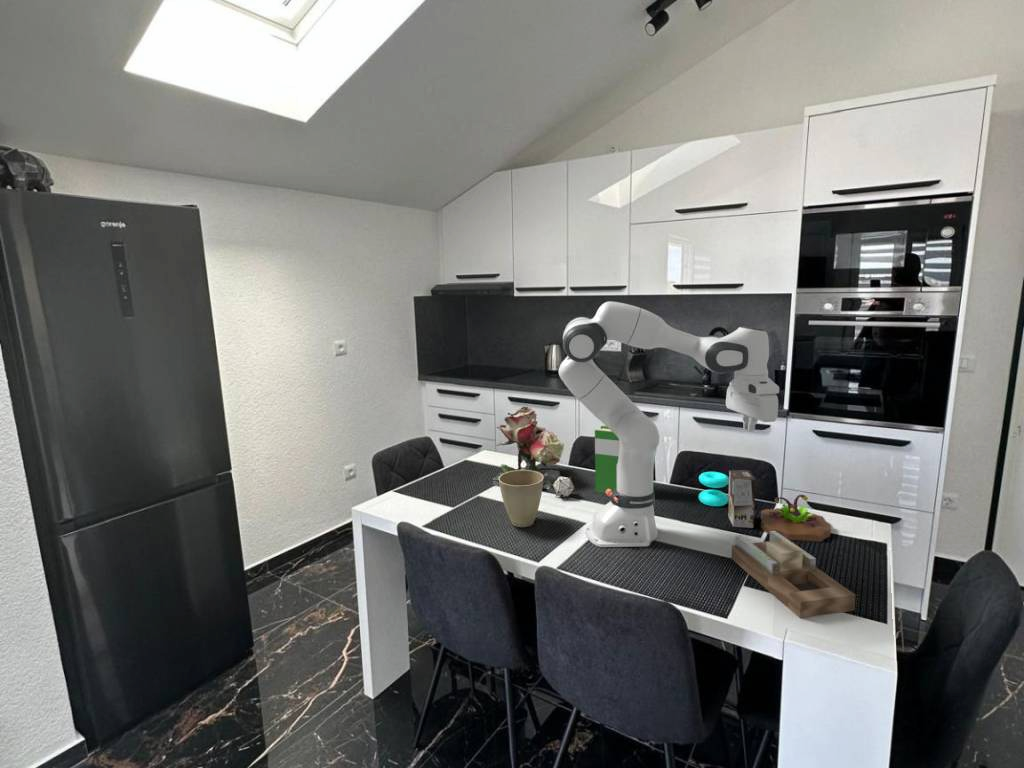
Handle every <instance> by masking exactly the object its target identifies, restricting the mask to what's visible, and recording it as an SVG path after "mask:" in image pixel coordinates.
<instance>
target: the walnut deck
mask: <svg viewBox="0 0 1024 768" xmlns="http://www.w3.org/2000/svg"><path fill="white" fill-rule="evenodd" d="M767 542H770V540H768V541H767V540H766V541H760V542H751V543H752V544H753V545H755V546H756V547H757V548H759V549H760V550H761V551H763V552H764V553H765V554H766V544H767ZM730 559H731V560H732V561H733V562H735V564H737V565H738V566H739V567H740V568H741V569H743V570H744V571H745V572H746V573H747V574H748V575H750V576H751V578H753V579H754V580H755V581H756V582H758V584H760V585H761V586H762V587H763V588H765V590H766V591H768V592H769V593H770V594H771V595H773V596H774V597H775V598H776V599H777V600H778V601H779V602H780V603H782V604H783V605H784V606H785V607H787V609H788V610H790V611H791V612H792V613H793V614H794V615H795V616H796V617H798V618H799V619H804V618H812V617H817V616H826V615H832V614H838V613H839V614H840V613H846V612H847V613H848V612H852V611H853V612H854V611H855V607H856V593H854V592H852V591H851V590H849V589H848V588H846V587H845V586H844V585H842V584H841V583H839V582H838V581H837V580H835V579H834V578H832V577H831V576H829V574H826V573H825V572H824V571H823V570H821V569H819V568H818V567H817V566H816V567H815V570H809V569H808V568H806V567H805V566H803V565H802V569H796V570H788V571H781V572H780V571H779V570H778V574H776V575H771V574H770V573H769V572H768V571H766V570H765V569H764V568H763V567H761V566H760V565H759V564H758V563H757V562H755V561H754V560H753V559H752V558H750V557H749V556H748V555H747V554H745V553H744V552H743V551H742V550H741V549H739V548H738V547H737V546H736V545H735V544H734V545H733V544H732V545H731V558H730Z"/></svg>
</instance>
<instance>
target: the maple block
mask: <svg viewBox="0 0 1024 768" xmlns="http://www.w3.org/2000/svg"><path fill="white" fill-rule="evenodd" d="M790 541H791V540H789V541H788V540H783V541H775V542H767V541H766V542H767V544H766V554H767V555H768V556H769V557H770V558H772V559H773V560H774V561H776V562H777V563H778V570H779V571H780V572H781V571H788V570H796V569H802V558H803V550H804V549H803V548H801V547H800V546H798V545H797V544H795V543H794V542H792V541H791V542H792V543H791V542H790ZM793 543H794V544H795V545H794V544H793ZM796 545H797V546H798V547H797V546H796ZM799 547H800V548H801V549H800V548H799ZM802 549H803V550H802Z"/></svg>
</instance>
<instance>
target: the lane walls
mask: <svg viewBox="0 0 1024 768" xmlns="http://www.w3.org/2000/svg"><path fill="white" fill-rule="evenodd" d="M734 540H735V541H734V545H736V546H737V547H738V548H739V549H741V550H742V551H743V552H744V553H745V554H747V555H748V556H749V557H750V558H752V559H753V560H754V561H755V562H757V563H758V564H759V565H760V566H761V567H763V568H764V569H765V570H766V571H768V572H769V573H770V574H771V575H776V574H778V563H777V562H776V561H774V560H773V559H772V558H770V557H769V556H768V555H767V554H765V553H764V552H763V551H761V550H760V549H759V548H757V547H756V546H755V545H753V544H752V543H753V542H752V541H750V540H749V539H747V538H745V537H744V536H743V535H741V534H735V538H734ZM783 540H788V539H786V538H785V537H783V536H782V535H780V534H779V533H778V532H776V531H770V534H769V541H770V542H775V541H783ZM788 541H790V542H791V543H793V544H794V545H796V546H797V547H799V548H800V549H802V550H803V558H802V565H803V566H805V567H806V568H808V569H809V570H815V567H817V566H816V564H817V558H816V557H815V556H813V555H812V554H810V553H808V552H807V551H805V550H804V549H803V548H801V547H800V546H798V545H797V544H796V543H794V542H793V541H792V540H788Z"/></svg>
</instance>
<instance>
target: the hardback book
mask: <svg viewBox="0 0 1024 768" xmlns="http://www.w3.org/2000/svg"><path fill="white" fill-rule="evenodd" d="M619 451H620V442H619V439H618V437H617V436H616V435H615V434H614V433H613V432H612V431H611V430H610V429H609V428H608V427H607V426H606V425H601V426H600V429H595V430H594V463H595V464H594V466H595V467H594V468H595V469H594V470H595V471H594V472H595V473H594V475H595V476H594V477H595V478H594V480H595V482H594V485H595V486H594V487H595V492H597V493H604V494H606V491H607V489H611V490H612V491H613V492H614V491H615V490H616V488H617V463H618V458H619Z"/></svg>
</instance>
